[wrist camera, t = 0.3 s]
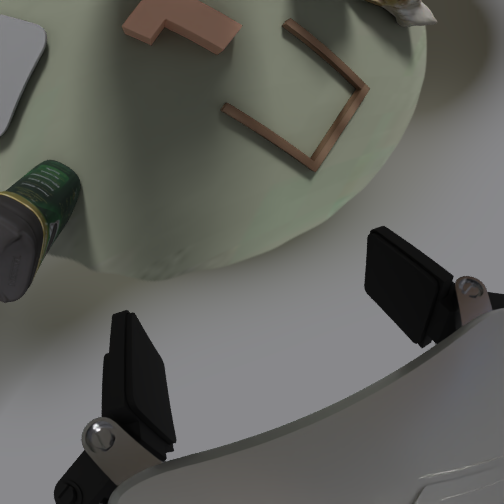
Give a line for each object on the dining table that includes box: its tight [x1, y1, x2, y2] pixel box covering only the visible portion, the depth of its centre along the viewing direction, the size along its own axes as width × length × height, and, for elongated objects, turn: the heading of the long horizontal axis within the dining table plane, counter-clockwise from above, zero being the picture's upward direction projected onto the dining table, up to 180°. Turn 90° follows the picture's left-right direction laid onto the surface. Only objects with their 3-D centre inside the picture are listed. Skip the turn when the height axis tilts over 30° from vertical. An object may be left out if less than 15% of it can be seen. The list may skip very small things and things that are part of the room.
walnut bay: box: [220, 18, 370, 172], centre depth 35 cm, size 16×16×2 cm
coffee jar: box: [0, 160, 80, 303], centre depth 24 cm, size 10×8×19 cm
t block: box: [122, 0, 242, 55], centre depth 25 cm, size 10×12×4 cm
